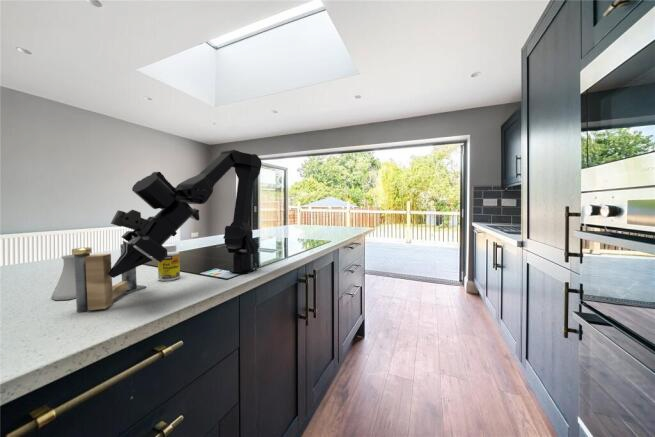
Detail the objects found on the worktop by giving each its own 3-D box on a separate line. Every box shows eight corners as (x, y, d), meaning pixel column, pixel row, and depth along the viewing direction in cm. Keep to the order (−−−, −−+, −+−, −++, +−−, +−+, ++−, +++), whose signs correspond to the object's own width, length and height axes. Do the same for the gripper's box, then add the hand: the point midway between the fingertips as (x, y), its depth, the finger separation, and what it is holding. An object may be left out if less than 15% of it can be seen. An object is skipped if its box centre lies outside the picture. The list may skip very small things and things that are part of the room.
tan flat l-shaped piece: (117, 291, 64) (115, 247, 64) (131, 290, 65) (130, 247, 65) (87, 310, 53) (85, 256, 52) (105, 308, 54) (102, 256, 53)
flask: (67, 302, 59) (64, 258, 58) (43, 300, 60) (40, 257, 60) (100, 291, 66) (99, 253, 65) (78, 290, 67) (76, 252, 67)
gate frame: (132, 286, 70) (130, 238, 70) (155, 288, 68) (153, 239, 67) (54, 309, 55) (51, 248, 54) (81, 313, 52) (77, 250, 52)
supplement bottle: (160, 282, 73) (159, 247, 73) (156, 278, 77) (155, 245, 77) (182, 278, 77) (181, 245, 77) (177, 275, 81) (176, 243, 81)
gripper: (130, 198, 64) (70, 247, 57) (146, 196, 51) (71, 260, 44) (168, 227, 70) (118, 275, 63) (190, 232, 57) (131, 294, 50)
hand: (110, 276), depth 55 cm, fingers closed
